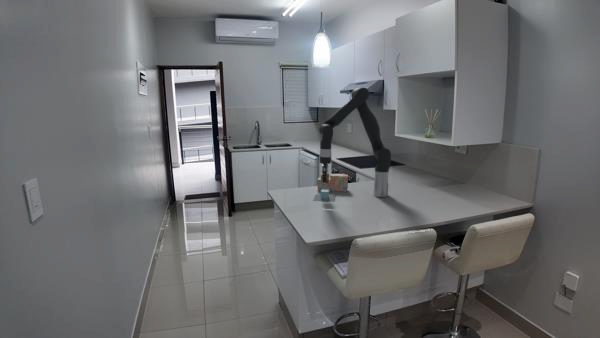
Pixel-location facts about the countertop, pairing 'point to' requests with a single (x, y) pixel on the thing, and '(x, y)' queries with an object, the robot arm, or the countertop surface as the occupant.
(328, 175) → the walnut cube
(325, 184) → the stack of blocks
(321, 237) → the countertop surface
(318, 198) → the build mat
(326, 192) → the teal cube
